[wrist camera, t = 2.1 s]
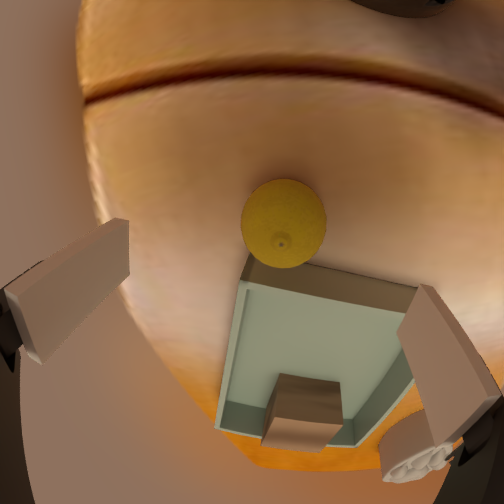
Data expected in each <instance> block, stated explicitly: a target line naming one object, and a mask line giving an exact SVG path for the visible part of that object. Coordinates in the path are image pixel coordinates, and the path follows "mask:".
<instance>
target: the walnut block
mask: <svg viewBox="0 0 504 504" xmlns="http://www.w3.org/2000/svg"><path fill="white" fill-rule="evenodd" d="M342 426H343V411H342V400H341V389H340V382H335V381H327V380H320V379H313V378H307V377H301V376H295V375H289V374H283V373H280V374H279V376H278V379H277V382H276V384H275V387H274V389H273V392H272V394H271V397H270V399H269V402H268V404H267V407H266V414H265V420H264V427H263V433H262V439H261V446H266V447H272V448H279V449H286V450H294V451H304V452H315V453H320V451H321V450H322V449H323V448H324V447H325V446H326V445H327V444H328V443H329V441H330V440H331V439H332V438H333V437H334V436H335V435H336V433H337V432H338V431H339V430H340V429H341V427H342Z"/></svg>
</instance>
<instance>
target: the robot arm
mask: <svg viewBox="0 0 504 504" xmlns="http://www.w3.org/2000/svg"><path fill="white" fill-rule="evenodd" d="M352 1H354V2H356V3H358V4H361V5H363V6H366V7H368V8H371V9H374V10H377V11H380V12H383V13H387V14H391V15H396V16H402V17H411V18H421V17H429V16H433V15H436V14H438V13H440V12H442V11H443V10H444V9H446V8H447V7H449V6H450V5H451V4H453V3H454V2H455V0H352ZM129 275H130V271H129V220H124V219H119V218H114V219H112V220H110V221H108V222H106V223H105V224H103V225H101V226H99V227H98V228H96V229H94V230H92V231H91V232H89V233H87V234H85V235H84V236H82V237H80V238H79V239H77V240H75V241H74V242H72V243H70V244H69V245H67V246H66V247H64V248H62V249H61V250H59V251H58V252H56V253H54V254H53V255H52V256H50V257H48V258H47V259H45V260H43V261H40V262H38V263H37V264H35V265H34V266H33V267H31V269H28V270H27V271H25V272H24V273H23V274H21V275H19V276H18V277H17V278H15V279H14V280H12V281H11V282H10V283H8V284H7V285H6V286H4V287H3V288H2V289H0V504H35V501H34V498H33V494H32V490H31V486H30V481H29V477H28V471H27V466H26V460H25V454H24V447H23V438H22V428H21V415H20V359H21V356H20V351H19V349H18V348H19V347H20V346H21V345H22V344H23V345H24V347H25V350H26V352H27V354H28V356H29V357H30V358H32V359H33V360H35V361H37V362H38V363H40V364H41V365H43V364H44V363H45V362H46V361H47V360H48V359H49V358H50V356H51V355H52V354H53V353H54V352H55V351H56V350H57V349H58V348H59V346H60V345H61V344H62V343H63V342H64V341H65V340H66V339H67V338H68V337H69V336H70V334H71V333H72V332H73V331H74V330H75V329H76V328H77V327H78V326H79V325H80V324H81V323H82V322H83V321H84V320H85V319H86V318H87V317H88V316H89V315H90V313H91V312H92V311H93V310H94V309H95V308H96V307H97V306H98V305H99V304H100V303H101V302H102V301H103V300H104V299H105V298H106V297H107V296H108V295H109V294H110V293H111V292H112V291H113V290H114V289H115V288H116V287H118V286H119V285H120V284H121V283H122V282H123V281H124V280H125V279H126V278H127V277H128V276H129ZM396 334H397V336H398V338H399V341H400V343H401V346H402V348H403V351H404V353H405V356H406V358H407V361H408V364H409V366H410V369H411V372H412V374H413V377H414V380H415V383H416V386H417V388H418V391H419V394H420V397H421V400H422V403H423V406H424V410H425V413H426V416H427V419H428V423H429V426H430V429H431V433H432V436H433V440H434V444H435V448H436V449H437V448H443V447H448V446H451V445H453V444H454V443H455V442H456V441H457V440H458V439H459V438H460V437H463V440H464V442H463V443H462V444H461V445H460V446H459V447H458V448H456V449H455V450H454V451H453V452H452V453H450V454H449V455H448V456H447V457H446V458H445V461H447V460H449V459H450V458H451V457H452V456H455V457H454V459H453V460H452V461H450V462H449V463H450V464H451V467H450V469H449V472H448V474H447V476H446V478H445V481H444V483H443V485H442V487H441V489H440V491H439V493H438V495H437V497H436V499H435V501H434V503H433V504H504V397H503V395H502V393H501V391H500V389H499V387H498V385H497V383H496V382H495V380H494V378H493V376H492V374H490V371H489V369H488V367H486V364H485V362H484V361H483V359H482V357H481V356H480V355H479V353H478V352H477V350H476V348H475V347H474V345H473V344H472V342H471V341H470V339H469V337H468V336H467V334H466V333H465V331H464V330H463V328H462V327H461V325H460V324H459V322H458V321H457V320H456V318H455V317H454V315H453V314H452V312H451V311H450V310H449V308H448V307H447V305H446V304H445V303H444V301H443V300H442V299H441V297H440V296H439V294H438V293H437V292H436V290H435V289H434V288H433V287H432V286H427V285H423V284H420V285H419V287H418V289H417V292H416V294H415V296H414V298H413V300H412V302H411V304H410V306H409V308H408V310H407V312H406V314H405V316H404V318H403V320H402V322H401V324H400V326H399V328H398V330H397V332H396Z"/></svg>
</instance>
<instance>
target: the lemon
mask: <svg viewBox="0 0 504 504" xmlns="http://www.w3.org/2000/svg"><path fill="white" fill-rule="evenodd" d="M241 231H242V235H243V240H244V242H245V244H246V246H247V248H248V250H249V251H250V252H251V253H252V254H253V256H254V257H255V258H257V259H258V260H259V261H261V262H262V263H264V264H266V265H269V266H271V267H276V268H292V267H295V266H299V265H301V264H302V263H304V262H306V261H308V260H309V259H310V258H311V257H312V256H313V255H314V254H315V253H316V252H317V251H318V249H319V247H320V246H321V244H322V242H323V239H324V236H325V232H326V214H325V210H324V206H323V204H322V203H321V201H320V199H319V197H318V196H317V195H316V194H315V193H314V191H313V190H312V189H311V188H309V187H308V186H306V185H305V184H303V183H301V182H298V181H295V180H292V179H277V180H272V181H269V182H267V183H265V184H263V185H261V186H260V187H259V188H257V189H256V190H255V191H254V192H253V193H252V194H251V195H250V197H249V198H248V200H247V201H246V203H245V206H244V209H243V212H242V216H241Z"/></svg>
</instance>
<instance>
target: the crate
mask: <svg viewBox="0 0 504 504" xmlns="http://www.w3.org/2000/svg"><path fill="white" fill-rule="evenodd" d="M417 289H418V288H415V287H411V286H406V285H402V284H397V283H393V282H388V281H384V280H379V279H374V278H370V277H365V276H361V275H356V274H352V273H347V272H343V271H338V270H334V269H329V268H325V267H320V266H316V265H311V264H307V263H302V264H301V265H299V266H295V267H292V268H276V267H271V266H269V265H266V264H264V263H262V262H261V261H259V260H258V259H257V258H255V257H254V256H253V254H252V253H251V252H250V254H249V257H248V259H247V262H246V264H245V267H244V270H243V272H242V275H241V277H240V280H239V286H238V292H237V297H236V303H235V309H234V315H233V320H232V326H231V332H230V338H229V344H228V349H227V355H226V361H225V367H224V373H223V379H222V385H221V391H220V397H219V403H218V409H217V415H216V421H215V427H214V429H218V430H222V431H227V432H231V433H235V434H240V435H245V436H250V437H255V438H261V439H262V433H263V427H264V420H265V414H266V407H267V404H268V402H269V399H270V397H271V394H272V392H273V389H274V387H275V384H276V382H277V379H278V376H279V374H280V373H283V374H289V375H295V376H301V377H307V378H313V379H320V380H327V381H335V382H340V389H341V400H342V411H343V426H342V427H341V429H340V430H339V431H338V432H337V433H336V435H335V436H334V437H333V438H332V439H331V440H330V441H329V443H328V444H327V445H326V446H327V447H348V448H357V447H358V446H359V445H360V444H361V443H362V442H363V441H364V440H365V439H366V438H367V437H368V436H369V435H370V434H371V433H372V432H373V431H374V430H375V429H376V428H377V427H378V426H379V425H380V424H381V423H382V421H383V420H384V419H385V418H386V417H387V416H388V415H389V414H390V412H391V411H392V410H393V409H394V408H395V407H396V405H397V404H398V403H399V402H400V401H401V399H402V398H403V397H404V396H405V395H406V393H407V392H408V391H409V389H410V388H411V387H412V386H413V384H414V383H415V380H414V377H413V374H412V372H411V369H410V366H409V364H408V361H407V358H406V356H405V353H404V351H403V348H402V346H401V343H400V341H399V338H398V336H397V334H396V332H397V330H398V328H399V326H400V324H401V322H402V320H403V318H404V316H405V314H406V312H407V310H408V308H409V306H410V304H411V302H412V300H413V298H414V296H415V294H416V292H417Z"/></svg>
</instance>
